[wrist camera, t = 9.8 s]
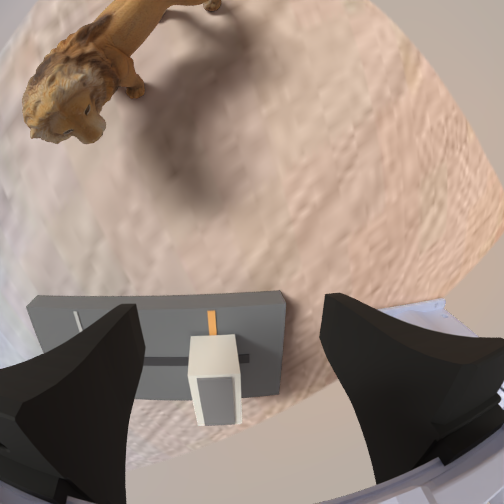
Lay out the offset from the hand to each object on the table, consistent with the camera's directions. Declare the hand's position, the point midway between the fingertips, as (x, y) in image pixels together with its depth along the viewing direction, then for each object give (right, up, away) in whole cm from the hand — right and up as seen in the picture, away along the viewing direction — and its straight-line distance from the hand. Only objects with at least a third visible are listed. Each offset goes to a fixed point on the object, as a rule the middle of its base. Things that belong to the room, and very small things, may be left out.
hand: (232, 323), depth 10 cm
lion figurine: (-6, +15, +4) cm, 17 cm away
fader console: (-7, -5, +11) cm, 14 cm away
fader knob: (-2, -5, +9) cm, 11 cm away
